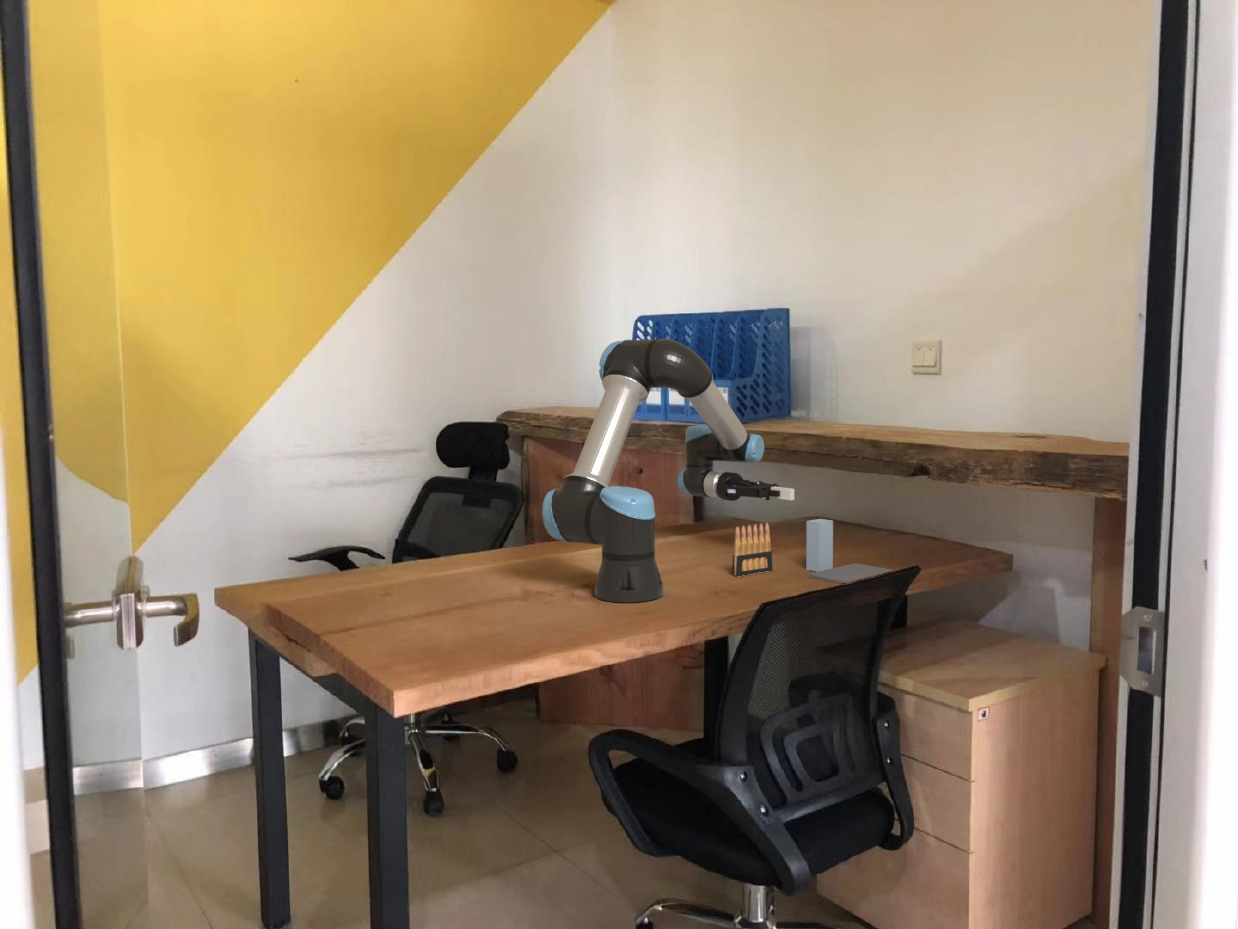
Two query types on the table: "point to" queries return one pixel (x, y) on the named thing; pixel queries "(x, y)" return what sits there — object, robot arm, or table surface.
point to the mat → (848, 573)
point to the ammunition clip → (752, 551)
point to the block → (819, 545)
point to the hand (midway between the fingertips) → (792, 494)
